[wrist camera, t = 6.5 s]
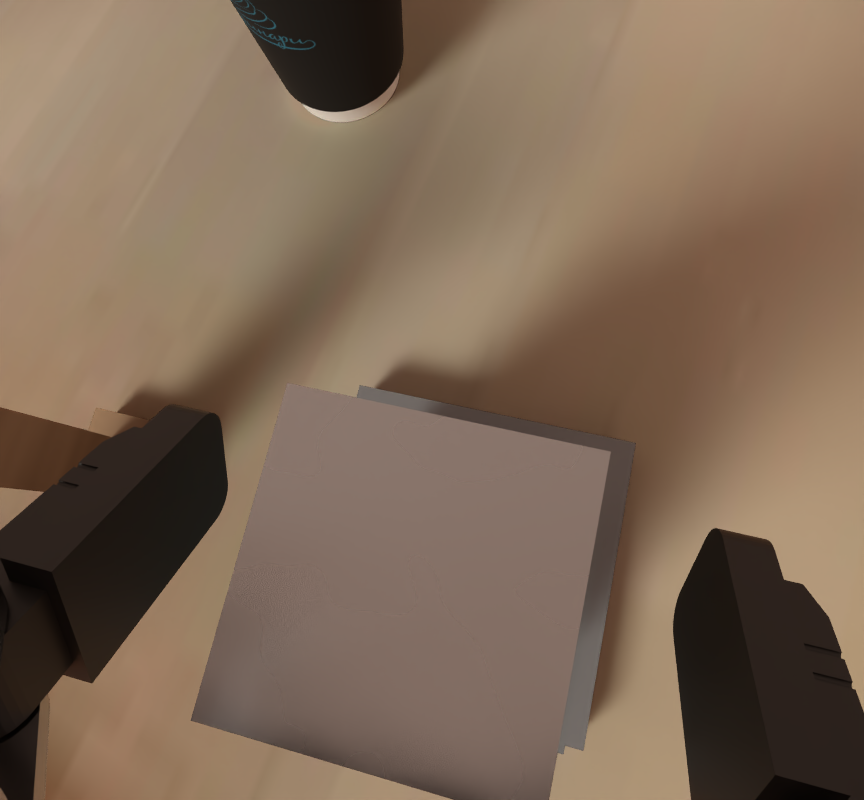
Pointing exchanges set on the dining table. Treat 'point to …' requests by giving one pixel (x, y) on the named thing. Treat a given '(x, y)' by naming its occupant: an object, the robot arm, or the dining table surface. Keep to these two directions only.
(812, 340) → the dining table surface
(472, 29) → the dining table surface
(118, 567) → the robot arm
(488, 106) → the dining table surface
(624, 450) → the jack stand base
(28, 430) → the height gauge
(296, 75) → the dixie cup
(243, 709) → the steel column
